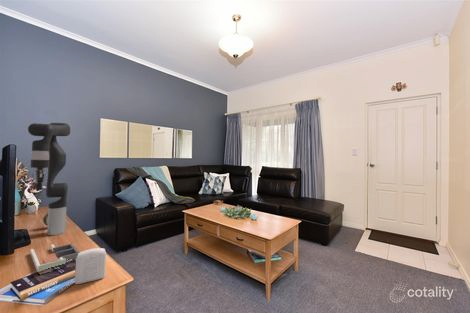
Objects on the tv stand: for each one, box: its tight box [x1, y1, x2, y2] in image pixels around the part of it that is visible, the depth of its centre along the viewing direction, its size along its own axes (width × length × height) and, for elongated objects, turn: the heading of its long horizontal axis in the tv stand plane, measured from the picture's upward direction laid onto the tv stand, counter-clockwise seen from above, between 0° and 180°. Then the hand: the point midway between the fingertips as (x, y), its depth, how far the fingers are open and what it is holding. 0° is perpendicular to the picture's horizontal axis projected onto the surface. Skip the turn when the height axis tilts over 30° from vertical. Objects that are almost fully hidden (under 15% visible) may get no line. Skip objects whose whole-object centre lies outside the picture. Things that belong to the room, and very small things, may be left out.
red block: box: [42, 255, 59, 264], centre depth 94 cm, size 6×4×4 cm
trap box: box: [30, 243, 81, 272], centre depth 103 cm, size 30×16×4 cm, turn 49°
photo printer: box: [74, 247, 107, 285], centre depth 85 cm, size 10×4×12 cm, turn 123°
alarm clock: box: [42, 212, 48, 230], centre depth 150 cm, size 11×5×16 cm, turn 148°
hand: (38, 190), depth 115 cm, fingers closed
